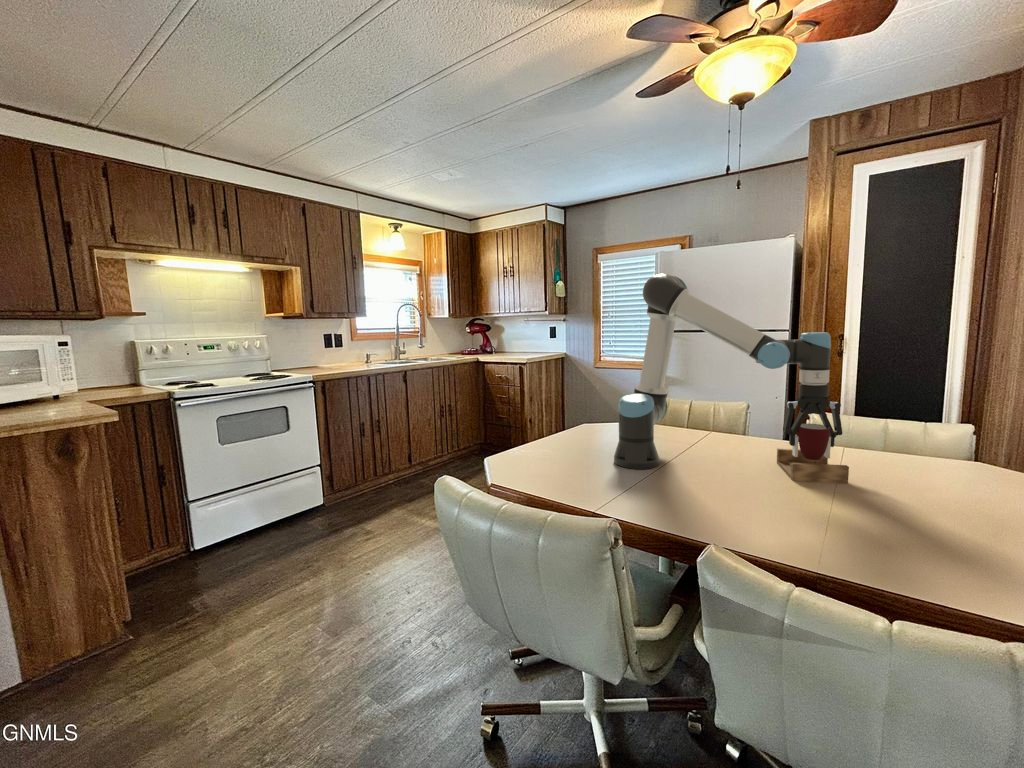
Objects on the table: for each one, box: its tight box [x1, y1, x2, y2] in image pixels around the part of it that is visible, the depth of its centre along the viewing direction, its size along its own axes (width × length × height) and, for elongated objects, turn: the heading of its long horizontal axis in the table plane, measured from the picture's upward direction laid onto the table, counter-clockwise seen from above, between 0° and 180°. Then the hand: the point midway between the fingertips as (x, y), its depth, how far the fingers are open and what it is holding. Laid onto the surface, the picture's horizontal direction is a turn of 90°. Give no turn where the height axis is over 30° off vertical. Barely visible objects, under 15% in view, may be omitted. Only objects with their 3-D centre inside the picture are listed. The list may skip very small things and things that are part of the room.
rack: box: [776, 448, 850, 484], centre depth 136 cm, size 14×17×5 cm
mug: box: [797, 423, 830, 460], centre depth 135 cm, size 11×8×10 cm
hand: (810, 456), depth 135 cm, fingers closed on mug, 8 cm apart
